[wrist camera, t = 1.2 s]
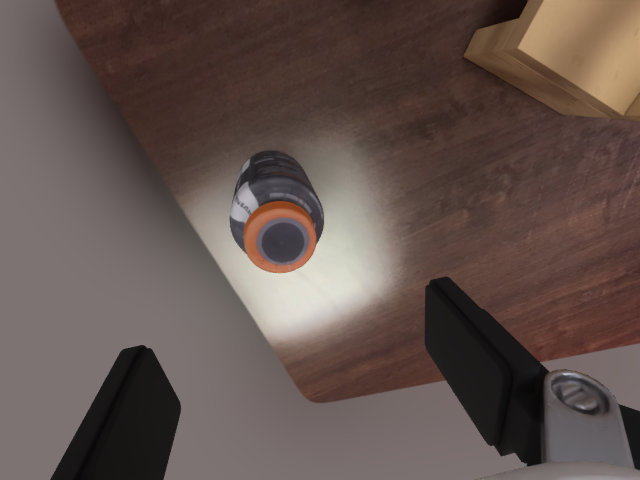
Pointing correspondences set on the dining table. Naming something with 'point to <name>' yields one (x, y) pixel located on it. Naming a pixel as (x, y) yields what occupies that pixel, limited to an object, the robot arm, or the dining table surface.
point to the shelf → (569, 55)
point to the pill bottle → (275, 213)
